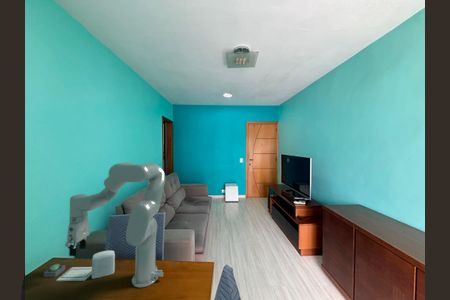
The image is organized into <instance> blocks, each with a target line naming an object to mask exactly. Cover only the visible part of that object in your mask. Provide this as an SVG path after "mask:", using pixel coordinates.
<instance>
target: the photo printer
mask: <svg viewBox="0 0 450 300" xmlns="http://www.w3.org/2000/svg"><path fill="white" fill-rule="evenodd" d="M115 253H116V252H115V251H114V250H103V251H100V252H99V251H98V252H96V253H94V254H93V255H92V259H91V267H92V274H91V279H92V280H93V279H98V278H102V277H107V276H108V277H109V276H110V275H111V276H112V275H113V274H114V273H115V271H116V270H115V267H116V263H115V259H116V254H115Z"/></svg>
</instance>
